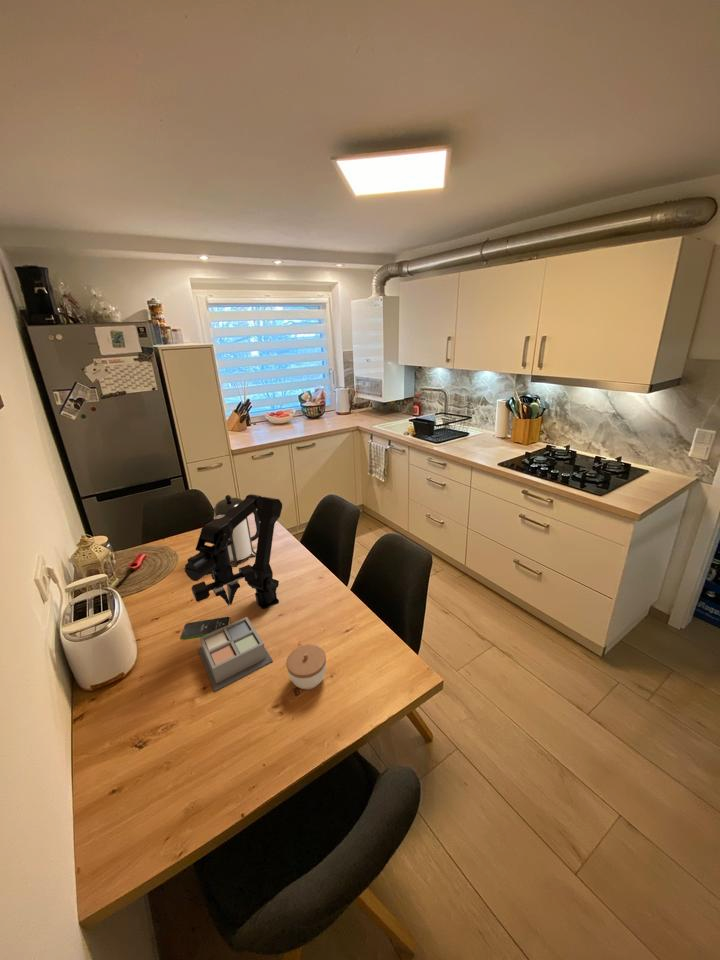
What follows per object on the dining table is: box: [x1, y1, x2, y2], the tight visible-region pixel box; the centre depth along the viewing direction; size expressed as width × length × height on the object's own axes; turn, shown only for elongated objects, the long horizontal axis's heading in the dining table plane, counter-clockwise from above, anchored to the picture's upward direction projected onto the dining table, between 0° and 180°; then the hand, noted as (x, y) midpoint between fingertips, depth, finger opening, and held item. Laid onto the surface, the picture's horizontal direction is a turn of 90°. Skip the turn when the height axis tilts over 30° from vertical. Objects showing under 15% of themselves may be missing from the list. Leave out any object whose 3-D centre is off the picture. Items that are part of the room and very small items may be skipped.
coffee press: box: [213, 494, 260, 567], centre depth 166 cm, size 17×16×30 cm
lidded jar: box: [285, 643, 327, 691], centre depth 105 cm, size 11×11×9 cm
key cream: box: [205, 632, 228, 650], centre depth 116 cm, size 6×6×3 cm
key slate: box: [228, 622, 250, 639], centre depth 120 cm, size 6×6×3 cm
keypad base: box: [197, 616, 273, 692], centre depth 115 cm, size 17×19×6 cm
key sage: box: [235, 635, 258, 653], centre depth 114 cm, size 6×6×3 cm
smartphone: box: [180, 616, 231, 640], centre depth 128 cm, size 8×1×15 cm
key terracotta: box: [211, 645, 235, 665], centre depth 111 cm, size 6×6×3 cm
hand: (229, 604), depth 122 cm, fingers closed
